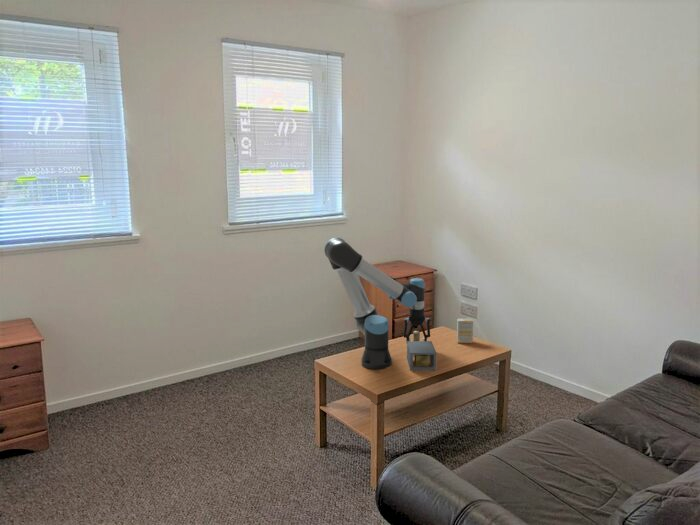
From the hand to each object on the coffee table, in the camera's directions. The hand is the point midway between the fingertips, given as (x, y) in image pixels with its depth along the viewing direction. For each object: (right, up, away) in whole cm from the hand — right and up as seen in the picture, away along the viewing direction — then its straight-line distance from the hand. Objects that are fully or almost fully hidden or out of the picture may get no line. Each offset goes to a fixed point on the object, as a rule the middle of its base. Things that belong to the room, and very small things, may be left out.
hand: (416, 349), depth 292 cm
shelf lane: (0, -4, -19) cm, 20 cm away
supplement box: (+28, +2, +11) cm, 30 cm away
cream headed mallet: (0, -2, -10) cm, 11 cm away
